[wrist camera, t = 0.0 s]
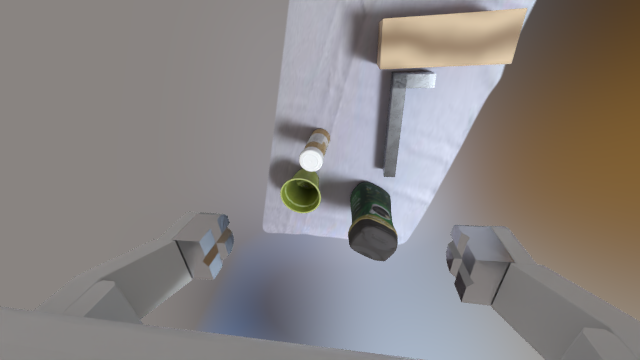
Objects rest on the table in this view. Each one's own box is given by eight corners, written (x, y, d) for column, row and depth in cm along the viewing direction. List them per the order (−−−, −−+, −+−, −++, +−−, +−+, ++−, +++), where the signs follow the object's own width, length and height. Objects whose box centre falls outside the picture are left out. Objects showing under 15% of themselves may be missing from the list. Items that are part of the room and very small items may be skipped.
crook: (391, 72, 50) (394, 74, 46) (431, 71, 48) (436, 73, 45) (382, 168, 60) (383, 176, 56) (414, 169, 59) (418, 177, 55)
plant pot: (328, 165, 62) (323, 182, 54) (322, 196, 66) (317, 216, 59) (291, 158, 62) (281, 174, 55) (288, 190, 67) (279, 208, 59)
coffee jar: (345, 199, 66) (340, 250, 50) (362, 176, 62) (362, 224, 46) (377, 215, 67) (382, 271, 51) (395, 194, 63) (406, 247, 47)
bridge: (379, 22, 46) (382, 18, 38) (495, 14, 43) (527, 8, 35) (376, 64, 49) (379, 69, 41) (484, 59, 46) (511, 63, 38)
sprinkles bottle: (328, 148, 59) (320, 174, 48) (309, 144, 59) (296, 169, 48) (332, 130, 57) (324, 153, 45) (312, 125, 57) (300, 147, 46)
